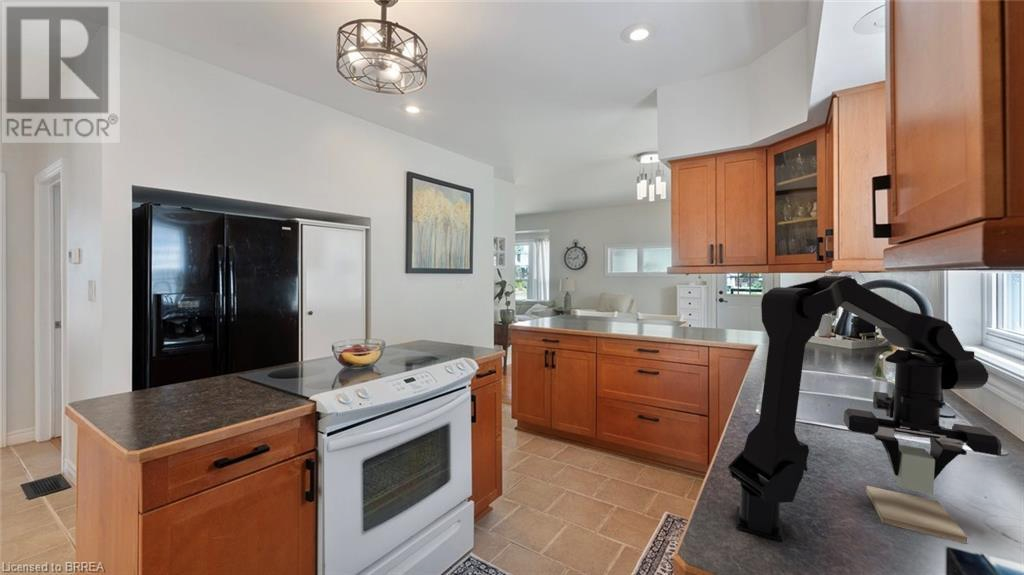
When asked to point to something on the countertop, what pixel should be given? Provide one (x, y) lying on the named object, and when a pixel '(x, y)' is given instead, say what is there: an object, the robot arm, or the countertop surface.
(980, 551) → the countertop surface
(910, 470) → the block
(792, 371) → the robot arm
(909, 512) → the board
